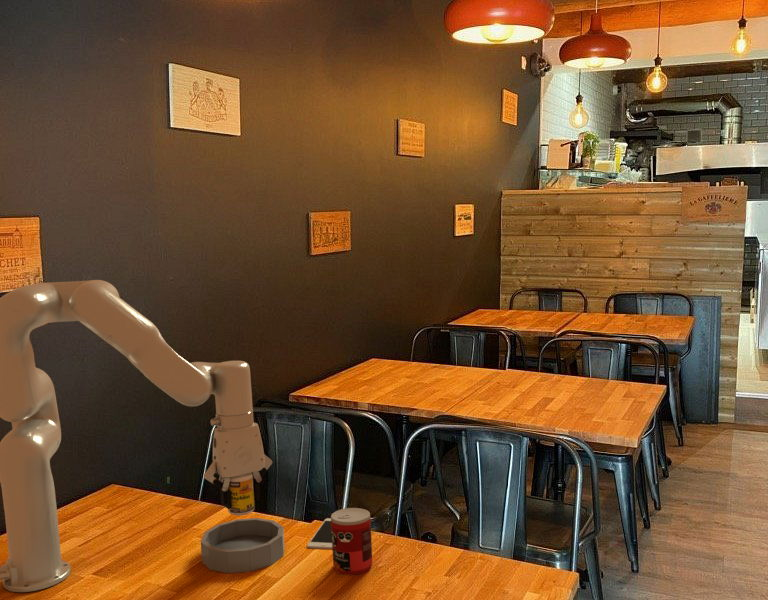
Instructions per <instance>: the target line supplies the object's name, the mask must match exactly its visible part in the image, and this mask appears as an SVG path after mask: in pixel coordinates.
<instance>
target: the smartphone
mask: <svg viewBox="0 0 768 600" xmlns="http://www.w3.org/2000/svg"><path fill="white" fill-rule="evenodd" d="M306 548H307V549H320V550H332V533H331V517H330V518H328V517H327V518H325V519H324V520H323V522H322V524H321V525H320V526H319V528H318V529H317V530H316V532H315V533H314V535H313V536H312V538H311V539H310V540H309V541H308V542H307V545H306Z"/></svg>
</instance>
